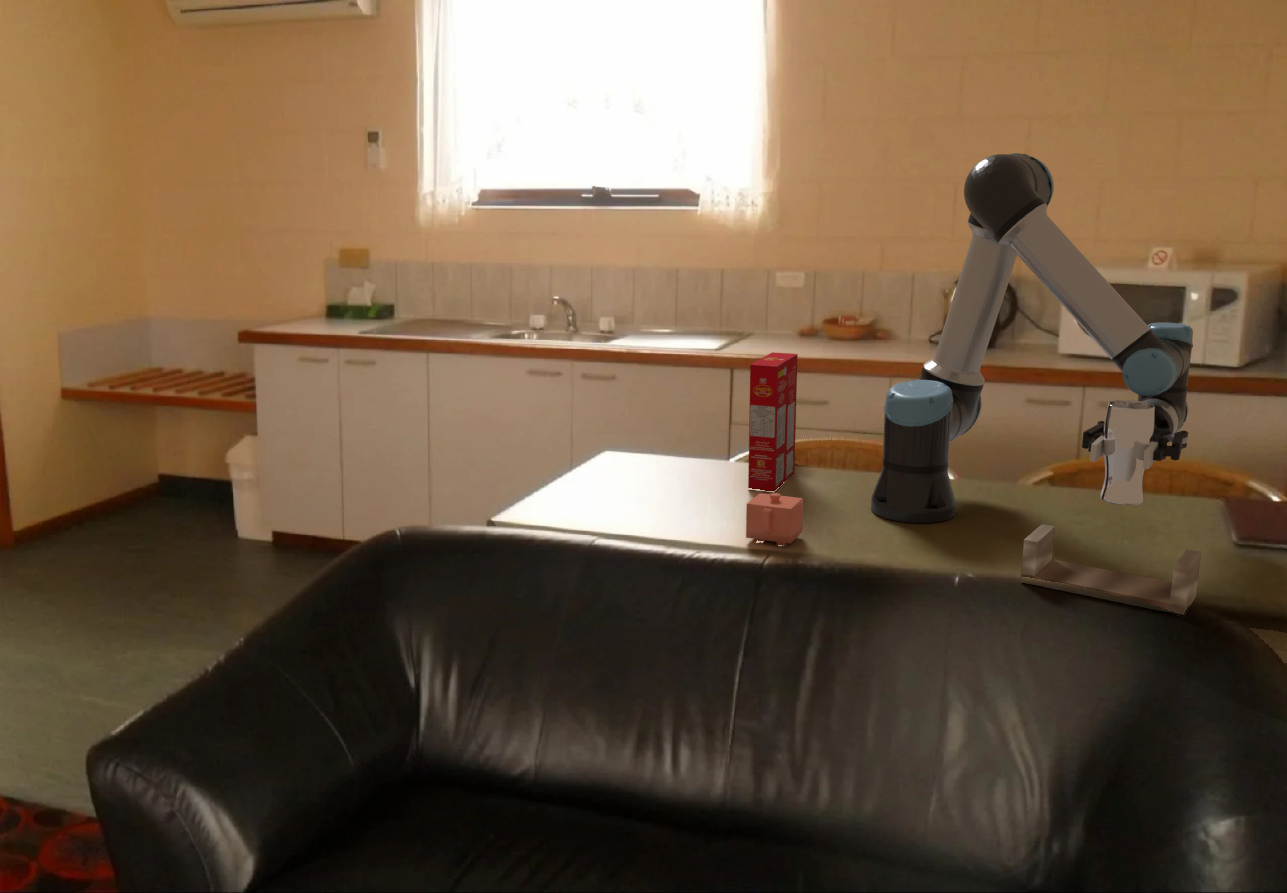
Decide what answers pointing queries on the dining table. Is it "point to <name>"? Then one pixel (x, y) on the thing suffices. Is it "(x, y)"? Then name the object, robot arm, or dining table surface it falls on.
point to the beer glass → (1126, 450)
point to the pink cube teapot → (774, 518)
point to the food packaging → (772, 420)
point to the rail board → (1112, 575)
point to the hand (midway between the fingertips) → (1119, 456)
